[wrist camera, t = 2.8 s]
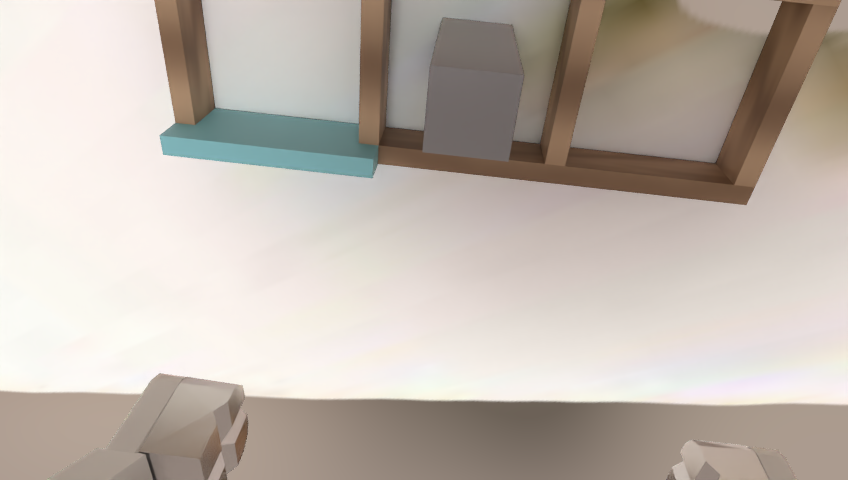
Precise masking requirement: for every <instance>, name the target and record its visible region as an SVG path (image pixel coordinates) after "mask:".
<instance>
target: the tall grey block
mask: <svg viewBox="0 0 848 480" xmlns="http://www.w3.org/2000/svg"><path fill="white" fill-rule="evenodd" d="M523 79H524V72H523V68H522V64H521V60H520V56H519V52H518V48H517V43H516V39H515V35H514V31H513V27H512V25H509V24H499V23H490V22H480V21H471V20H461V19H452V18H442V22H441V26H440V30H439V33H438V37H437V41H436V44H435V48H434V52H433V56H432V59H431V63H430V70H429V82H428V93H427V104H426V116H425V127H424V139H423V150H422V152H425V153H434V154H443V155H452V156H461V157H470V158H479V159H488V160H497V161H506V162H508V161H509V156H510V150H511V145H512V139H513V134H514V128H515V123H516V118H517V112H518V107H519V101H520V96H521V90H522V85H523Z"/></svg>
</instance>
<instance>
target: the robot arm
mask: <svg viewBox="0 0 848 480" xmlns="http://www.w3.org/2000/svg"><path fill="white" fill-rule="evenodd" d="M244 399H245V395H244V390H243V386H242V385H237V384H230V383H224V382H217V381H210V380H204V379H197V378H190V377H183V376H175V375H168V374H161V373H160V374H158V375H157V376H156V377H155V378H153V379H152V380H151V381H150V383H149V384H148V386H147V387H146V389H145V390H144V392H143V393H142V395H141V396H140V398H139V399H138V401H137V402H136V404H135V405H134V407H133V408H132V410H131V411H130V413H129V414H128V416H127V417H126V419H125V420H124V422H123V423H122V425H121V426H120V428H119V429H118V431H117V432H116V434H115V435H114V437H113V438H112V440H111V441H110V443H109V444H108V446H107V447H106V449H103V448H96V449H94V450H93V451H91V452H90V453H88V454H86V455H85V456H84V457H82V458H80V459H79V460H77V461H75V462H74V463H72V464H70V465H69V466H67V467H66V468H64V469H62V470H61V471H59V472H58V473H56V474H55V475H53V476H51V477H50V478H48V479H46V480H227V475H226V474H228V473H229V472H230V471H232V470H233V469H234V468H235V467H237V466H238V464H239V461H240V459H241V456H242V454H243V452H244V448H245V444H246V440H247V435H248V417H247V414H246V413H245V412H244V411H243V410H242V409H241V406H242V404H243V401H244ZM680 452H681V455H682V459H683V462H681V463H679V464H677V465H675V466H673V467H672V468H671V470H670V472H669V475H668V477H667V479H666V480H797V478H796V476H795V474H794V472H793V470H792V469H791V467H790V465H789V463H788V461H787V459H786V458H785V456H784V455H783V454H782V453H780V452H779V451H778V450H773V449H764V448H757V447H746V446H744V445H736V444H727V443H718V442H709V441H700V440H690V441H688V442H686V443H685V445H684V446H683V448H682V450H681V451H680Z"/></svg>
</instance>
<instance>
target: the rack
mask: <svg viewBox="0 0 848 480" xmlns="http://www.w3.org/2000/svg"><path fill="white" fill-rule="evenodd" d="M154 1H155V6H156V12H157V18H158V24H159V30H160V35H161V41H162V47H163V53H164V58H165V64H166V70H167V76H168V82H169V87H170V93H171V99H172V105H173V110H174V116H175V122H176V123H175V124H174V125H172V126H171V127H170V128H169V129H167V130H166V131H165V132H163V133H162V134H161V135H160V140H161V145H162V150H163V155H171V156H179V157H188V158H197V159H206V160H215V161H224V162H233V163H242V164H250V165H259V166H268V167H277V168H286V169H295V170H304V171H313V172H321V173H330V174H339V175H348V176H357V177H366V178H373V175H374V173H375V170H376V167H377V164H385V165H394V166H403V167H412V168H421V169H430V170H439V171H448V172H457V173H465V174H474V175H483V176H492V177H501V178H510V179H519V180H528V181H537V182H546V183H555V184H564V185H573V186H581V187H590V188H599V189H608V190H617V191H626V192H635V193H644V194H653V195H662V196H671V197H680V198H689V199H698V200H706V201H715V202H724V203H733V204H742V205H747V203H748V200H749V198H750V196H751V194H752V192H753V190H754V188H755V185H756V183H757V181H758V179H759V177H760V175H761V172H762V170H763V168H764V166H765V164H766V162H767V160H768V157H769V155H770V153H771V151H772V149H773V147H774V144H775V142H776V140H777V138H778V136H779V134H780V132H781V129H782V127H783V125H784V123H785V121H786V119H787V116H788V114H789V112H790V110H791V108H792V106H793V104H794V101H795V99H796V97H797V95H798V93H799V91H800V88H801V86H802V84H803V82H804V80H805V78H806V75H807V73H808V71H809V69H810V67H811V65H812V63H813V60H814V58H815V56H816V54H817V52H818V50H819V47H820V45H821V43H822V41H823V39H824V37H825V35H826V32H827V30H828V28H829V26H830V24H831V21H832V19H833V17H834V15H835V13H836V11H837V9H838V7H839V4H840V2H841V0H777V1H782V3H781V6H780V8H779V10H778V13H777V15H776V18H775V20H774V23H773V25H772V28H771V30H770V32H769V35H768V37H767V40H766V42H765V45H764V47H763V49H762V52H761V54H760V57H759V59H758V62H757V64H756V67H755V69H754V71H753V74H752V76H751V79H750V81H749V84H748V86H747V89H746V91H745V93H744V96H743V98H742V101H741V103H740V106H739V108H738V111H737V113H736V115H735V118H734V120H733V123H732V125H731V128H730V130H729V132H728V135H727V137H726V140H725V142H724V145H723V147H722V150H721V152H720V154H719V157H718V159H717V162H716V163H707V162H698V161H688V160H679V159H670V158H661V157H652V156H643V155H634V154H625V153H616V152H607V151H598V150H589V149H580V148H571V147H570V144H571V140H572V136H573V132H574V127H575V123H576V119H577V115H578V111H579V107H580V103H581V99H582V95H583V91H584V87H585V83H586V79H587V74H588V70H589V66H590V62H591V58H592V54H593V50H594V46H595V42H596V38H597V34H598V30H599V26H600V22H601V17H602V13H603V9H604V5H605V1H606V0H571V2H570V6H569V11H568V16H567V20H566V25H565V30H564V34H563V39H562V44H561V49H560V53H559V58H558V63H557V67H556V72H555V77H554V81H553V86H552V91H551V95H550V100H549V105H548V110H547V114H546V119H545V124H544V128H543V133H542V138H541V142H540V144H534V143H525V142H516V141H512V145H511V150H510V156H509V161H508V162H506V161H497V160H488V159H479V158H470V157H461V156H452V155H443V154H434V153H425V152H422V150H423V139H424V131H417V130H408V129H399V128H389V127H386V107H387V86H388V65H389V43H390V22H391V1H392V0H361V49H360V102H359V124H353V123H344V122H335V121H326V120H317V119H308V118H299V117H290V116H281V115H272V114H263V113H254V112H245V111H235V110H226V109H217V108H215V104H214V97H213V89H212V81H211V74H210V66H209V58H208V50H207V43H206V35H205V27H204V20H203V12H202V4H201V0H154Z"/></svg>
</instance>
